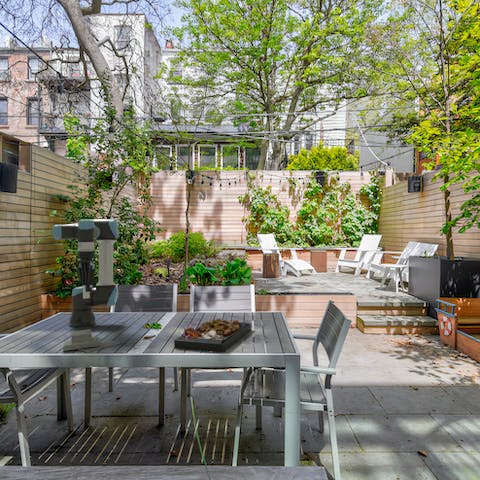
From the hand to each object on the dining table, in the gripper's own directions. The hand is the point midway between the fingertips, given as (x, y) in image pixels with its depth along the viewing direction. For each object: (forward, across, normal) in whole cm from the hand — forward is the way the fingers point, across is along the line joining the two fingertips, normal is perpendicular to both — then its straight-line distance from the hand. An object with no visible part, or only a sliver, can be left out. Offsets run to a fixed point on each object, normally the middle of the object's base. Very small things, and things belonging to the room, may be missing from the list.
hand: (86, 298), depth 183 cm
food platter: (+23, +48, +43) cm, 69 cm away
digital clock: (+19, 0, -3) cm, 19 cm away
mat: (+22, +10, 0) cm, 25 cm away
